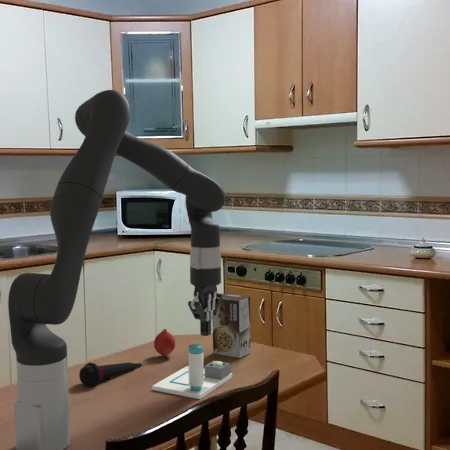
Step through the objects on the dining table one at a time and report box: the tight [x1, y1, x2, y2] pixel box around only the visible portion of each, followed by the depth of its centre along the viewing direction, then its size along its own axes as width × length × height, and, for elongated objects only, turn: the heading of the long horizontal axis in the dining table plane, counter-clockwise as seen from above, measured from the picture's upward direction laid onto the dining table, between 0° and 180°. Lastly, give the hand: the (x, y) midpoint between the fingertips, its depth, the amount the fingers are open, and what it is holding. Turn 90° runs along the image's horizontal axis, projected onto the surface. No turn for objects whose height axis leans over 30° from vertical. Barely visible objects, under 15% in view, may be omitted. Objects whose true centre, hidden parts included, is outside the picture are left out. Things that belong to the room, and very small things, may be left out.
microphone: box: [78, 362, 143, 387], centre depth 161 cm, size 6×6×20 cm
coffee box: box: [211, 292, 252, 359], centre depth 178 cm, size 9×6×16 cm
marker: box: [188, 343, 205, 391], centre depth 148 cm, size 4×4×10 cm
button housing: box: [204, 360, 231, 380], centre depth 158 cm, size 5×5×3 cm
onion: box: [153, 327, 176, 358], centre depth 176 cm, size 6×6×8 cm
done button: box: [211, 360, 223, 367], centre depth 158 cm, size 3×3×2 cm
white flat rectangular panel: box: [151, 365, 233, 400], centre depth 155 cm, size 16×13×1 cm
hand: (205, 335), depth 157 cm, fingers closed
